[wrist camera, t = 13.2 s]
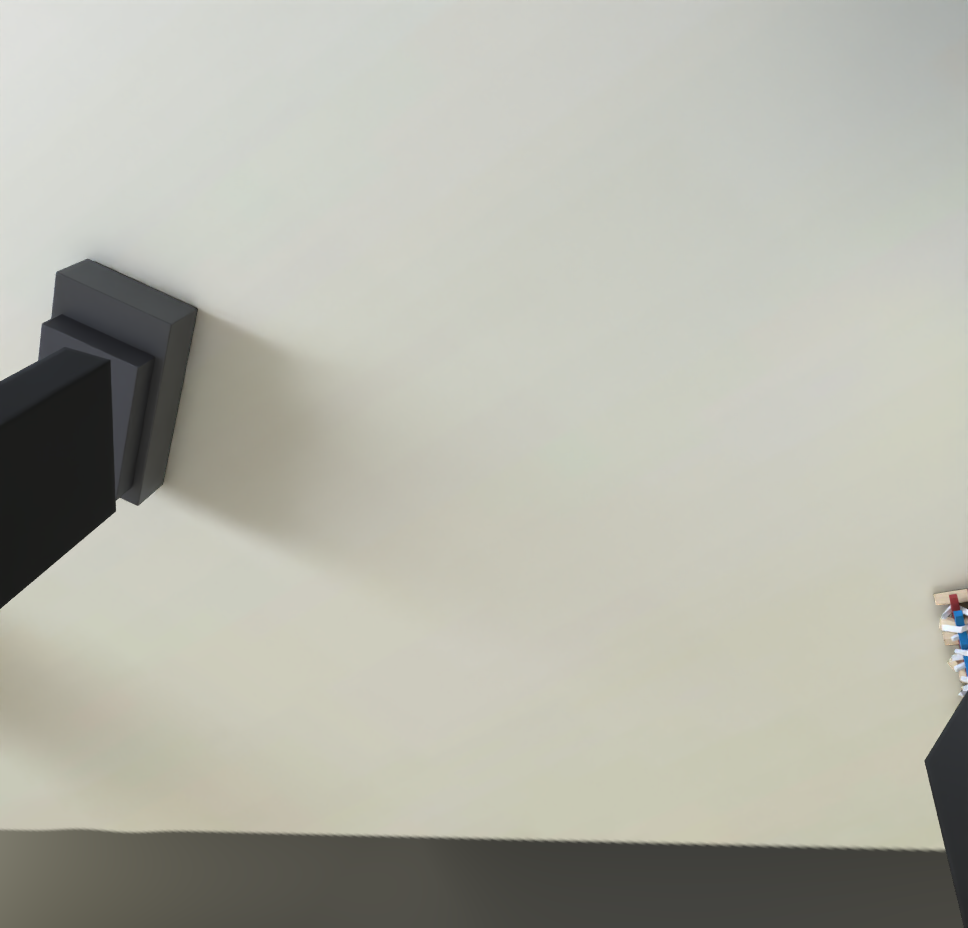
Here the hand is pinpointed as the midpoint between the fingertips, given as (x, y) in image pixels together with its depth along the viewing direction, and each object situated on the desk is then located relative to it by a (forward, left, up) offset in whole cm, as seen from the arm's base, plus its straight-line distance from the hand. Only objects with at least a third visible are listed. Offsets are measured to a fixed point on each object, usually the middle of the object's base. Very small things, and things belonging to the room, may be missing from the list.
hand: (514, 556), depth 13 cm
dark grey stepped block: (+25, -13, -27) cm, 39 cm away
